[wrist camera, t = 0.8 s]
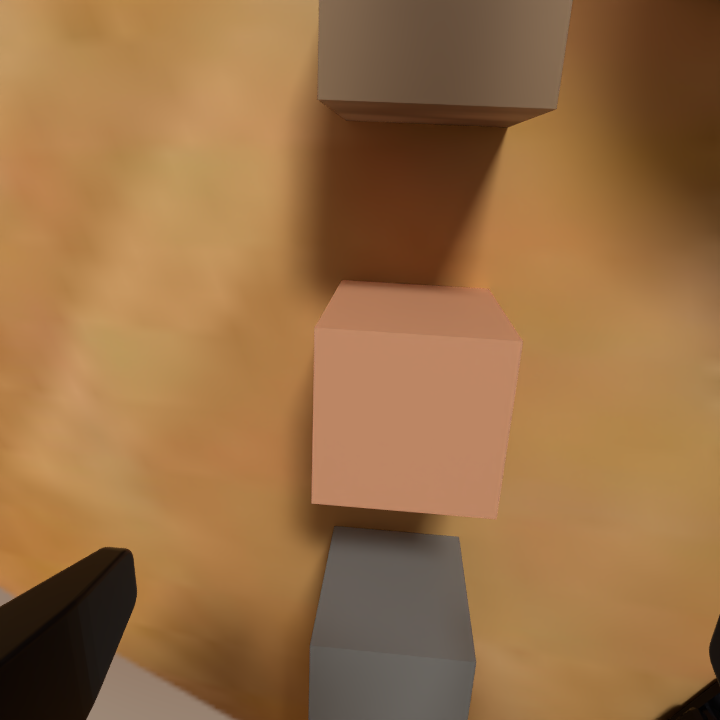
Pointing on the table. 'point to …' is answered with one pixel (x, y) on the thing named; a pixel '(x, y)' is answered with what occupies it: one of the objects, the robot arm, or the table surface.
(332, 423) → the terracotta block
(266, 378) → the table surface
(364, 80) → the walnut block
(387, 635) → the charcoal block
